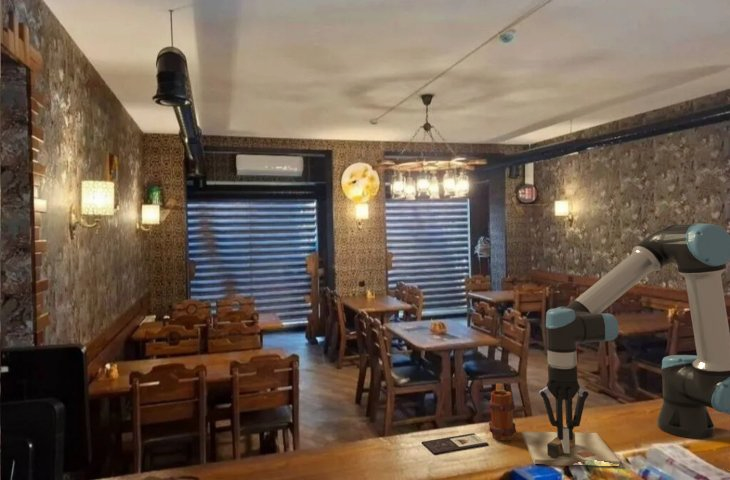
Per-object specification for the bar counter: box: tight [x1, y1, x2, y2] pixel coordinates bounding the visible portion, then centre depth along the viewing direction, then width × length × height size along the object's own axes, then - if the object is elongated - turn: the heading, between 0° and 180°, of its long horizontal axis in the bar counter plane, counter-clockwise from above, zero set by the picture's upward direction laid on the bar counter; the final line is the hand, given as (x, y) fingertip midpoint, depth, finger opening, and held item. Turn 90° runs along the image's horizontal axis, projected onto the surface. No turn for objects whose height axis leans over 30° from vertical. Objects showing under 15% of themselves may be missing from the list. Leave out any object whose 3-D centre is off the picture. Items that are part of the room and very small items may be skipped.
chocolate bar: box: [421, 433, 490, 456], centre depth 155 cm, size 9×1×18 cm
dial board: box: [521, 431, 621, 467], centre depth 148 cm, size 22×20×2 cm
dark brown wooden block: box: [547, 431, 575, 458], centre depth 145 cm, size 13×4×4 cm, turn 138°
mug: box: [488, 382, 517, 442], centre depth 161 cm, size 15×8×15 cm, turn 168°
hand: (565, 450), depth 140 cm, fingers closed
